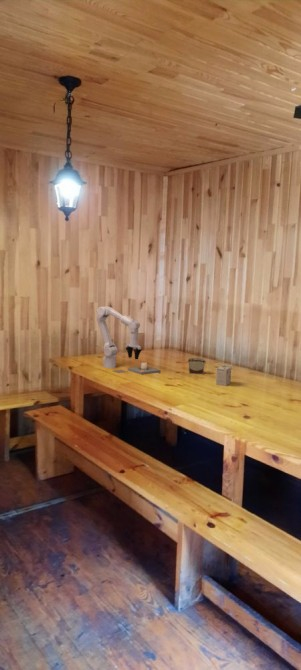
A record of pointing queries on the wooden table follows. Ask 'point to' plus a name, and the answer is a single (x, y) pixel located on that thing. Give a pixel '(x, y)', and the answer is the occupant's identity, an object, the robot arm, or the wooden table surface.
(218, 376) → the light bulb box
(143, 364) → the peg
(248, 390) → the wooden table surface
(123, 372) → the square grey metal plate
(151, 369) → the hole plate
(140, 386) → the wooden table surface
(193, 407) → the wooden table surface
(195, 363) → the food container
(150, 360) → the wooden table surface
